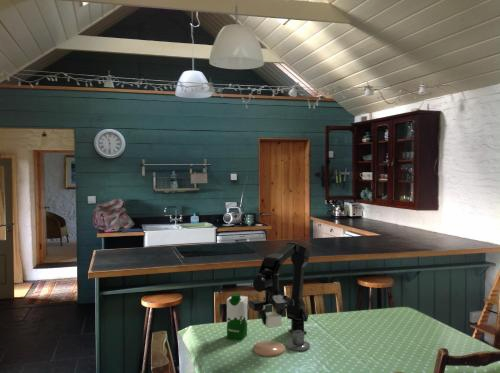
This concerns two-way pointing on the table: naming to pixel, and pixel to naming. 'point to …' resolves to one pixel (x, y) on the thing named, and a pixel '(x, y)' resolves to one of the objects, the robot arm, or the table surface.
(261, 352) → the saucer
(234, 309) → the milk carton
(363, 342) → the table surface
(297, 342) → the grey rounded piece
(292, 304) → the robot arm
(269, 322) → the cream colored cube
